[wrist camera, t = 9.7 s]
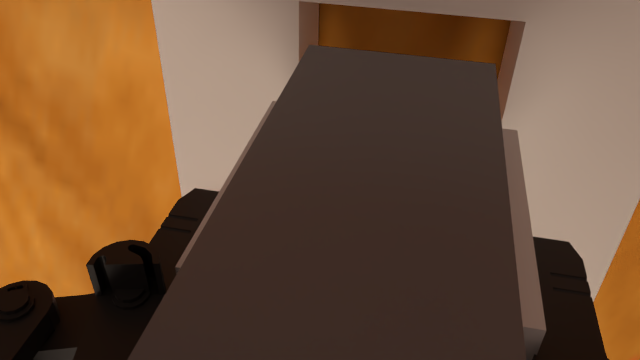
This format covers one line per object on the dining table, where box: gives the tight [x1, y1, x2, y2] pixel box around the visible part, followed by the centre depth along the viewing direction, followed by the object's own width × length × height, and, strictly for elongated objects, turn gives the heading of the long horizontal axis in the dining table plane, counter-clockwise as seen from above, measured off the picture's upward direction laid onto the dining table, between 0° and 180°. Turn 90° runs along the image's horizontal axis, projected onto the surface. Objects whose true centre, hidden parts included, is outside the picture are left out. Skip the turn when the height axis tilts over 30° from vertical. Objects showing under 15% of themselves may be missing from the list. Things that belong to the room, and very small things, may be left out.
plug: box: [128, 45, 526, 360], centre depth 11 cm, size 5×5×13 cm
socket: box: [151, 0, 640, 302], centre depth 19 cm, size 16×16×4 cm
